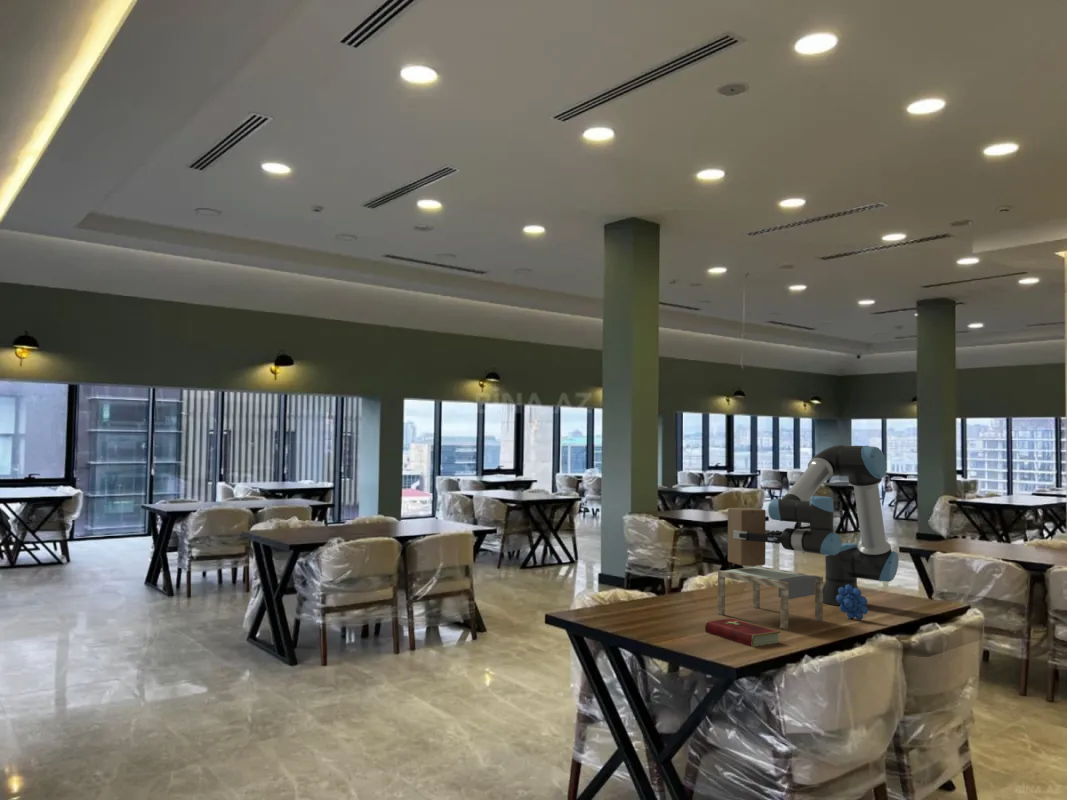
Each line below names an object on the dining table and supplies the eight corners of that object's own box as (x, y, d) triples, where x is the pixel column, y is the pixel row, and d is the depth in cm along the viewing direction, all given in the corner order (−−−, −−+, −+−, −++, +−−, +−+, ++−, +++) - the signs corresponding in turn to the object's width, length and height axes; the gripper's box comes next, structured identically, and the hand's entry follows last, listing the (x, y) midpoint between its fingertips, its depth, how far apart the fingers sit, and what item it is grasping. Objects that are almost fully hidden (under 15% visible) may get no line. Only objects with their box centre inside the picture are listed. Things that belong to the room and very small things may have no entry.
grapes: (830, 617, 291) (830, 583, 292) (839, 615, 296) (839, 581, 296) (862, 623, 283) (862, 588, 283) (870, 620, 287) (871, 586, 288)
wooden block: (765, 565, 294) (766, 509, 295) (741, 565, 291) (741, 509, 292) (750, 561, 304) (751, 507, 305) (727, 561, 301) (727, 507, 302)
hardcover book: (752, 648, 246) (752, 634, 247) (704, 633, 264) (704, 620, 265) (780, 644, 252) (780, 630, 253) (731, 629, 270) (731, 617, 271)
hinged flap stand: (822, 621, 285) (823, 576, 286) (785, 629, 271) (785, 582, 271) (755, 607, 307) (755, 565, 307) (717, 614, 292) (718, 570, 293)
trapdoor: (817, 593, 285) (817, 576, 285) (786, 599, 273) (786, 581, 273) (754, 582, 305) (754, 566, 305) (723, 587, 293) (723, 570, 293)
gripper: (775, 553, 274) (723, 545, 291) (815, 548, 289) (763, 541, 306) (776, 530, 274) (724, 524, 291) (815, 527, 290) (764, 521, 306)
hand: (744, 533), depth 299 cm, fingers closed on wooden block, 12 cm apart
